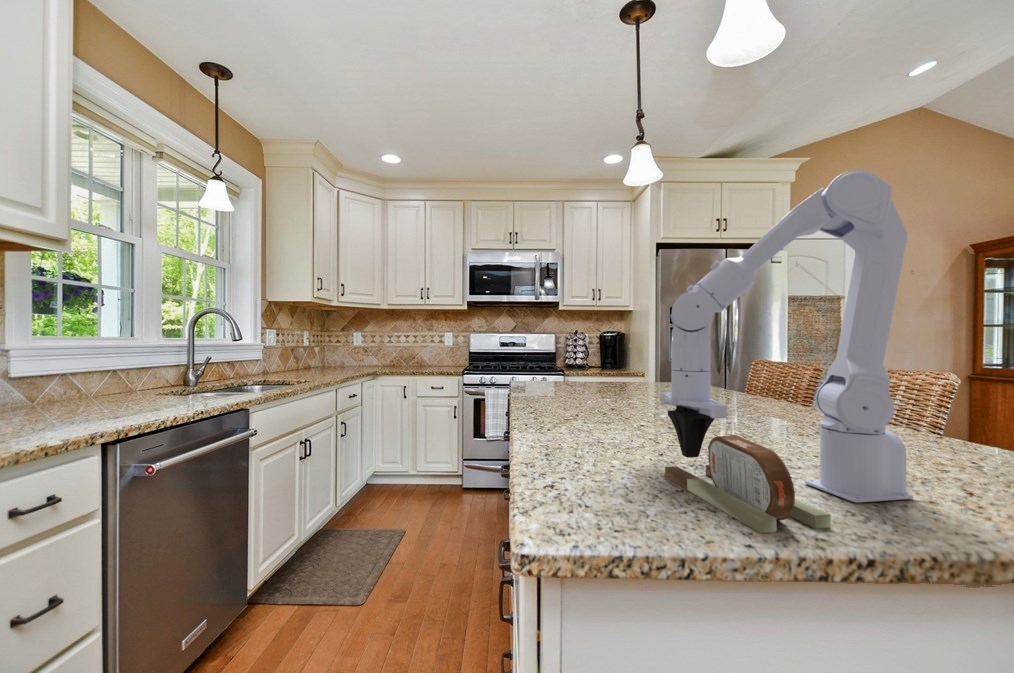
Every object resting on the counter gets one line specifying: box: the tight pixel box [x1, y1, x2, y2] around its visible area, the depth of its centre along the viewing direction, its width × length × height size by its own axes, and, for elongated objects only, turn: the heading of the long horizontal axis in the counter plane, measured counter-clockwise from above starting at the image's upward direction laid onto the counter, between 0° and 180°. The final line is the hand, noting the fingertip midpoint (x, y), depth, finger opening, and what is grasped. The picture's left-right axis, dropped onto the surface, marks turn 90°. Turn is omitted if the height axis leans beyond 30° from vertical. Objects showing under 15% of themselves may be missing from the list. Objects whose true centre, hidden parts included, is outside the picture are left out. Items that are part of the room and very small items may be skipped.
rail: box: [664, 464, 832, 534], centre depth 58 cm, size 9×20×2 cm, turn 10°
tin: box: [707, 434, 796, 521], centre depth 55 cm, size 15×3×8 cm, turn 2°
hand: (690, 456), depth 68 cm, fingers closed
